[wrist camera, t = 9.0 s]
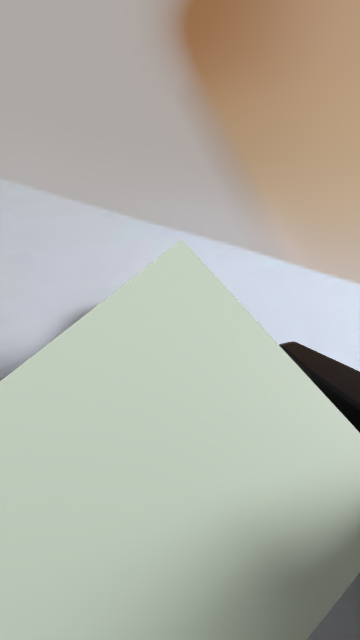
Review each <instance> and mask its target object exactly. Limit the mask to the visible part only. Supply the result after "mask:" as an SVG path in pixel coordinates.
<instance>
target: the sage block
mask: <svg viewBox="0 0 360 640" xmlns="http://www.w3.org/2000/svg"><path fill="white" fill-rule="evenodd" d="M359 573H360V433H359V432H358V430H357V429H356V428H355V427H354V426H353V425H352V424H351V423H350V422H349V421H348V420H347V418H346V417H345V416H344V415H343V414H342V413H341V412H340V411H339V410H338V409H337V408H336V407H335V405H334V404H333V403H332V402H331V401H330V400H329V399H328V398H327V397H326V396H325V395H324V394H323V392H322V391H321V390H320V389H319V388H318V387H317V386H316V385H315V384H314V383H313V382H312V380H311V379H310V378H309V377H308V376H307V375H306V374H305V373H304V372H303V371H302V370H301V369H300V367H299V366H298V365H297V364H296V363H295V362H294V361H293V360H292V359H291V358H290V357H289V356H288V354H287V353H286V352H285V351H284V350H283V349H282V348H281V347H280V346H279V345H278V344H277V342H276V341H275V340H274V339H273V338H272V337H271V336H270V335H269V334H268V333H267V332H266V331H265V329H264V328H263V327H262V326H261V325H260V324H259V323H258V322H257V321H256V320H255V319H254V318H253V316H252V315H251V314H250V313H249V312H248V311H247V310H246V309H245V308H244V307H243V306H242V304H241V303H240V302H239V301H238V300H237V299H236V298H235V297H234V296H233V295H232V294H231V293H230V291H229V290H228V289H227V288H226V287H225V286H224V285H223V284H222V283H221V282H220V281H219V280H218V278H217V277H216V276H215V275H214V274H213V273H212V272H211V271H210V270H209V269H208V268H207V267H206V265H205V264H204V263H203V262H202V261H201V260H200V259H199V258H198V257H197V256H196V255H195V253H194V252H193V251H192V250H191V249H190V248H189V247H188V246H187V245H186V244H185V243H184V242H183V240H180V241H179V242H178V243H177V244H175V245H174V246H173V247H172V248H170V249H169V250H168V251H166V252H165V253H164V254H163V255H161V256H160V257H159V258H157V259H156V260H155V261H154V262H152V263H151V264H150V265H148V266H147V267H146V268H145V269H143V270H142V271H141V272H139V273H138V274H137V275H136V276H134V277H133V278H132V279H131V280H129V281H128V282H127V283H125V284H124V285H123V286H122V287H120V288H119V289H118V290H116V291H115V292H114V293H113V294H111V295H110V296H109V297H107V298H106V299H105V300H104V301H102V302H101V303H100V304H98V305H97V306H96V307H95V308H93V309H92V310H91V311H90V312H88V313H87V314H86V315H84V316H83V317H82V318H81V319H79V320H78V321H77V322H75V323H74V324H73V325H72V326H70V327H69V328H68V329H66V330H65V331H64V332H63V333H61V334H60V335H59V336H57V337H56V338H55V339H54V340H52V341H51V342H50V343H49V344H47V345H46V346H45V347H43V348H42V349H41V350H40V351H38V352H37V353H36V354H34V355H33V356H32V357H31V358H29V359H28V360H27V361H25V362H24V363H23V364H22V365H20V366H19V367H18V368H16V369H15V370H14V371H13V372H11V373H10V374H9V375H7V376H6V377H5V378H4V379H2V380H1V381H0V640H307V639H308V638H309V637H310V636H311V634H312V633H313V632H314V630H315V629H316V628H317V627H318V625H319V624H320V623H321V622H322V620H323V619H324V618H325V617H326V615H327V614H328V613H329V611H330V610H331V609H332V608H333V606H334V605H335V604H336V603H337V601H338V600H339V599H340V598H341V596H342V595H343V594H344V592H345V591H346V590H347V589H348V587H349V586H350V585H351V584H352V582H353V581H354V580H355V579H356V577H357V576H358V575H359Z"/></svg>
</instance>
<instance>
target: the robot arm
mask: <svg viewBox="0 0 360 640" xmlns="http://www.w3.org/2000/svg"><path fill="white" fill-rule="evenodd" d="M279 346H280V347H281V348H282V349H283V350H284V351H285V352H286V353H287V354H288V356H289V357H290V358H291V359H292V360H293V361H294V362H295V363H296V364H297V365H298V366H299V367H300V369H301V370H302V371H303V372H304V373H305V374H306V375H307V376H308V377H309V378H310V379H311V380H312V382H313V383H314V384H315V385H316V386H317V387H318V388H319V389H320V390H321V391H322V392H323V394H324V395H325V396H326V397H327V398H328V399H329V400H330V401H331V402H332V403H333V404H334V405H335V407H336V408H337V409H338V410H339V411H340V412H341V413H342V414H343V415H344V416H345V417H346V418H347V420H348V421H349V422H350V423H351V424H352V425H353V426H354V427H355V428H356V429H357V430H358V432H359V433H360V372H359V371H357V370H355V369H353V368H351V367H349V366H346V365H344V364H342V363H340V362H338V361H336V360H333V359H331V358H329V357H327V356H325V355H323V354H320V353H318V352H316V351H314V350H312V349H310V348H308V347H305V346H303V345H301V344H299V343H297V342H287V343H283V344H280V345H279Z"/></svg>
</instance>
